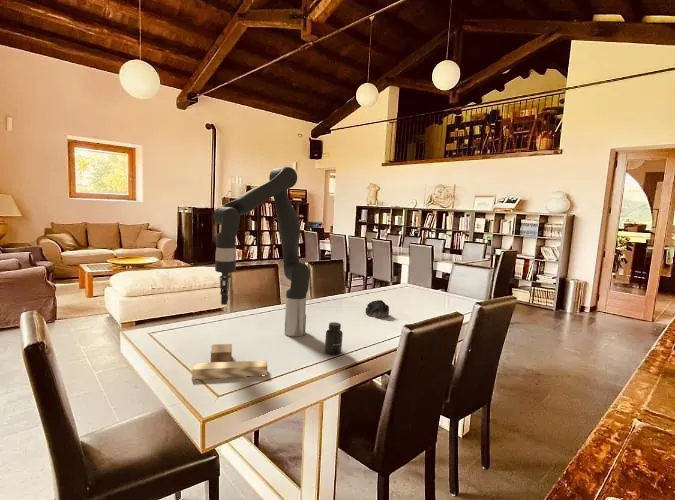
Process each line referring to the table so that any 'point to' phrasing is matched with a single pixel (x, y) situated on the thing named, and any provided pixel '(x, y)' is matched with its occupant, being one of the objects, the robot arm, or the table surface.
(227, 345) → the walnut block
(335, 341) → the supplement bottle
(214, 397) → the table surface
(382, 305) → the black rock
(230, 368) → the ash board
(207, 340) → the table surface
